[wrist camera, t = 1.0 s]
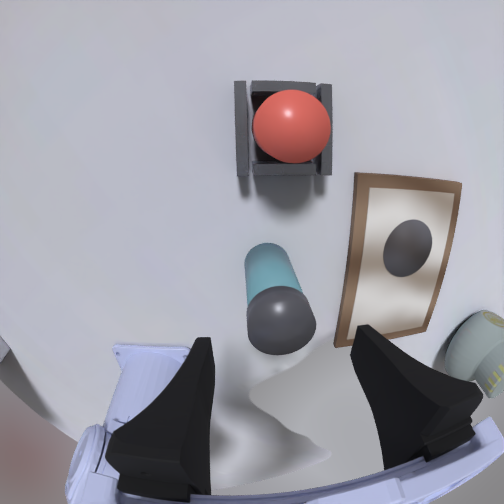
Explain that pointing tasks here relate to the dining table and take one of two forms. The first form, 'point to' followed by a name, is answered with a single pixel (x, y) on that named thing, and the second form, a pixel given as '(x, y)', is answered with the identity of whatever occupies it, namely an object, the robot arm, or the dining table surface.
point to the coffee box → (3, 349)
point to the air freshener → (479, 352)
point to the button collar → (319, 165)
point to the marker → (276, 302)
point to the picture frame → (396, 253)
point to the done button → (291, 126)
